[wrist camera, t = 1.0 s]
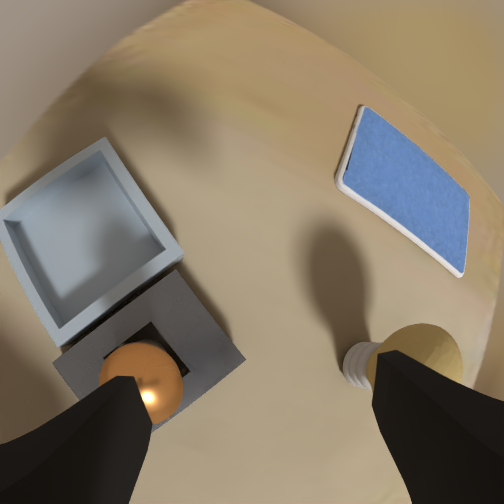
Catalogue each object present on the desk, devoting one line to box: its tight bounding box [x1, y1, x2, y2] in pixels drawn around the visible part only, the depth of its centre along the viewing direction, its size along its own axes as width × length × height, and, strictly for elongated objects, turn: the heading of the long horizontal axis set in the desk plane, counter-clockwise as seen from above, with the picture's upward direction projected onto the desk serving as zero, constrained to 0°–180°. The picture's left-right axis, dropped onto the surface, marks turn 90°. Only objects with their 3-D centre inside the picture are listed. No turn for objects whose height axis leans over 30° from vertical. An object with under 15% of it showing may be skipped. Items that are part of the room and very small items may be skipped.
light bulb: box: [343, 323, 463, 391], centre depth 18 cm, size 6×6×10 cm
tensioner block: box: [53, 269, 246, 433], centre depth 17 cm, size 10×7×2 cm
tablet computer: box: [335, 106, 470, 278], centre depth 29 cm, size 19×13×1 cm, turn 64°
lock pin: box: [99, 339, 183, 424], centre depth 15 cm, size 4×4×8 cm
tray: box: [0, 136, 184, 347], centre depth 18 cm, size 10×10×2 cm
